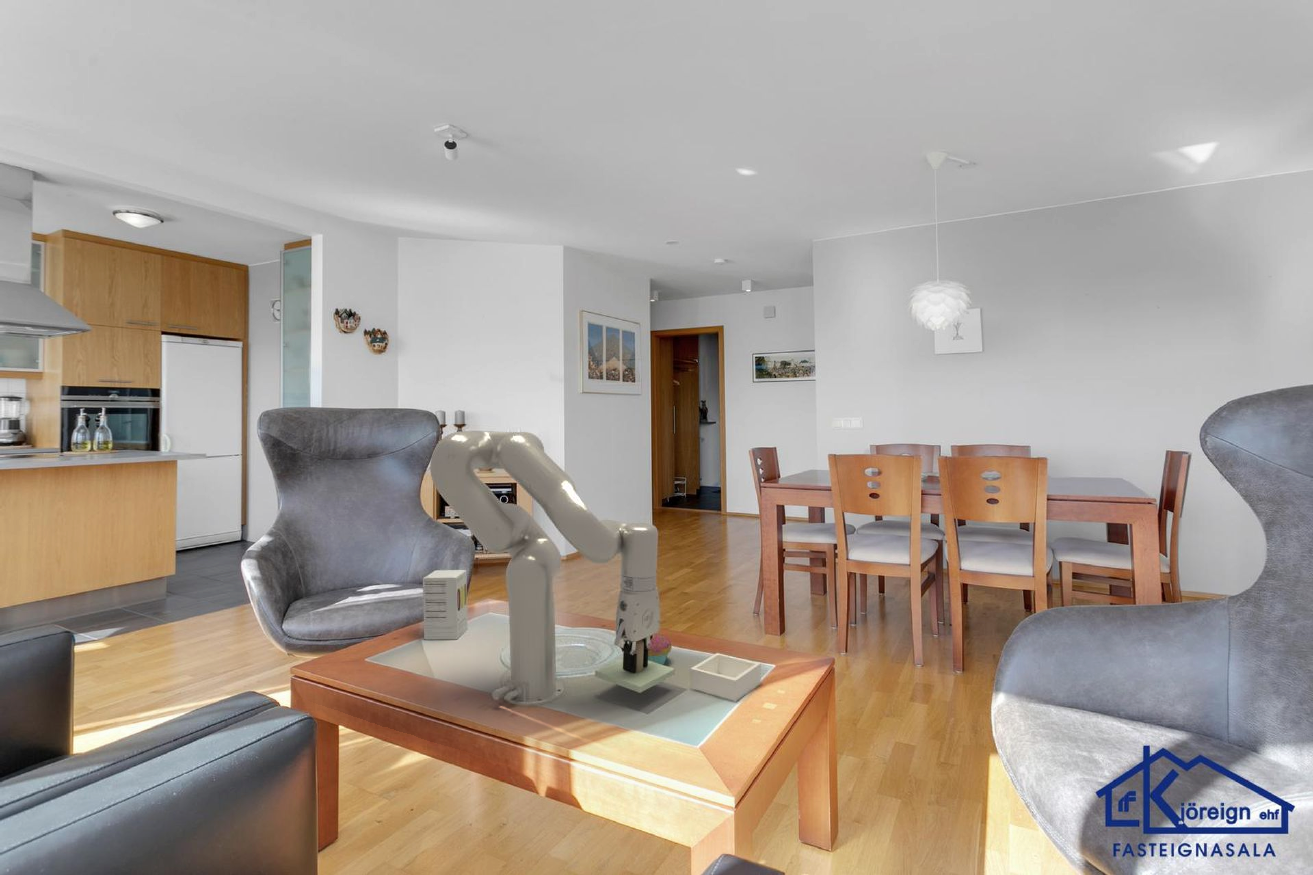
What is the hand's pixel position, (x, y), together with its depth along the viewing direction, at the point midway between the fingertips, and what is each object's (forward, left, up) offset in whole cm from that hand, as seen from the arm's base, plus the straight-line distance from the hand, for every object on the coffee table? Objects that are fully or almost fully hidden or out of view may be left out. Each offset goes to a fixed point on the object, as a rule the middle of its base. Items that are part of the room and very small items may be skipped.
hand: (635, 667), depth 136 cm
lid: (0, 0, -2) cm, 2 cm away
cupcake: (+16, +7, -6) cm, 18 cm away
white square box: (+14, -14, -6) cm, 20 cm away
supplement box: (+1, +67, -6) cm, 67 cm away
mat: (+1, -1, -6) cm, 6 cm away
